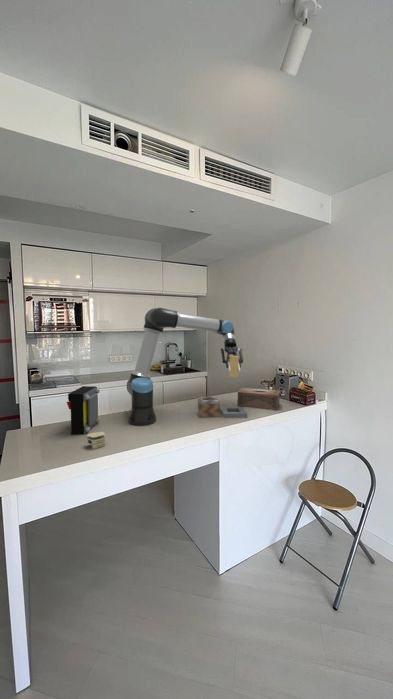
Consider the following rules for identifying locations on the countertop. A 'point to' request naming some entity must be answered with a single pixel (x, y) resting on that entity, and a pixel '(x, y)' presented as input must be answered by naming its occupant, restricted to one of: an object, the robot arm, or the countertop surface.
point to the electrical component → (83, 409)
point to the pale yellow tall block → (233, 366)
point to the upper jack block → (208, 407)
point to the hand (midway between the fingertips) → (234, 371)
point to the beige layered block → (96, 439)
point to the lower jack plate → (233, 412)
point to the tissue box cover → (258, 398)
